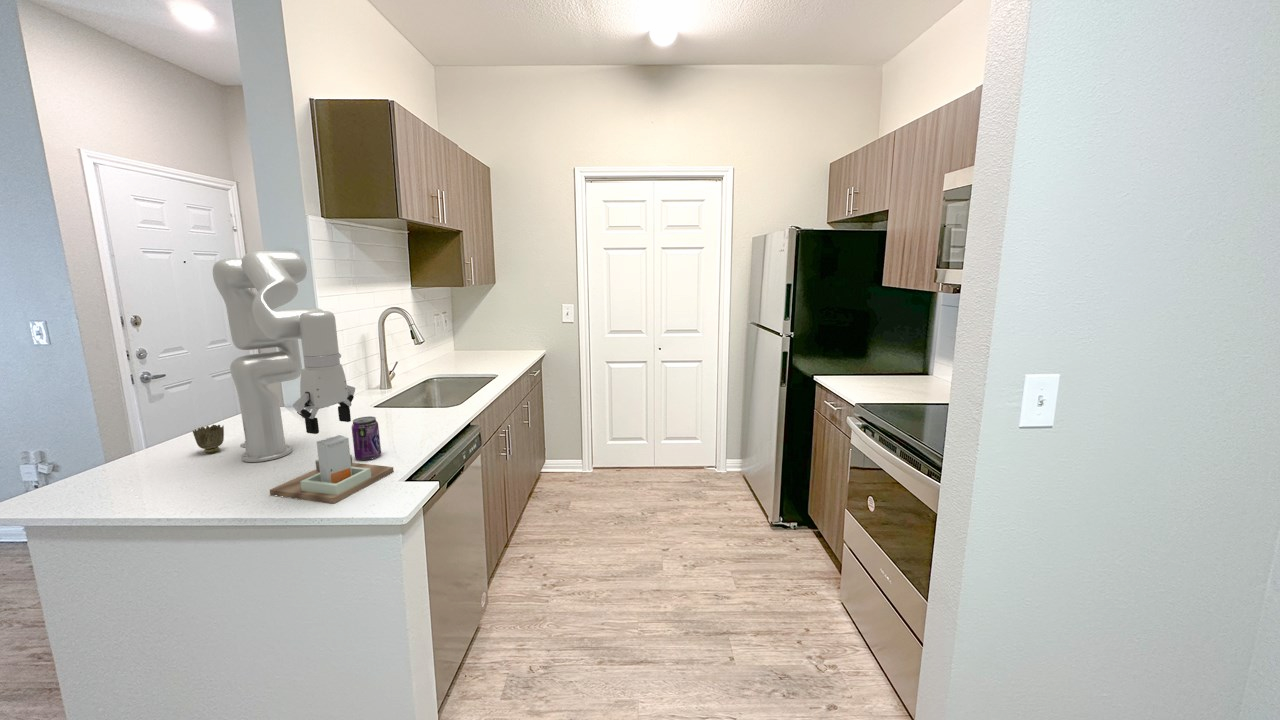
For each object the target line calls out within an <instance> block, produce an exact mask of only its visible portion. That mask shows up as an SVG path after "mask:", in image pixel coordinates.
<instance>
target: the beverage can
mask: <svg viewBox="0 0 1280 720" xmlns="http://www.w3.org/2000/svg"><path fill="white" fill-rule="evenodd" d="M379 429H380V428H379V423H378V420H377V418H376V416H362V417H357V418H355V419H353V420H352V425H351V434H352V442H353V443H352V444H353V452H354V453H353V454H354V458H355V459H357V460H360V461H369V460H373V459H376V458H377V457H379V456H380V455H381V454H382V448H381V439H380V430H379ZM375 457H376V458H375ZM372 458H373V459H372ZM368 459H369V460H368Z"/></svg>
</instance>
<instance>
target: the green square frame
mask: <svg viewBox="0 0 1280 720" xmlns="http://www.w3.org/2000/svg"><path fill="white" fill-rule="evenodd" d="M351 468H352V476H350V477H348V478H346V479H344V480H342V481H340V482H338V483H336V484H335V483H327V482H321V477H320V473H318V474H315V475H313V476H311V477H309V478H307V479H304V480H302V481H300V483H301V490H302V491H308V492H316V493H324V494H332V495H339V494H340V493H342V492H344V491H346V490H348V489H350V488H352V487H354V486H356V485H358V484H360V483H362V482H364V481H365V480H367V479H369V478H371V470H370V469H369V468H360V467H351Z"/></svg>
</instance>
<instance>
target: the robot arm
mask: <svg viewBox="0 0 1280 720" xmlns="http://www.w3.org/2000/svg"><path fill="white" fill-rule="evenodd" d="M307 273H308V267H307V263H306V262H305V260H304V259H303V257H302V256H301V255H300V254H298V253H296V252H295V251H289V250H288V251H287V250H254V251H250V252H247V253H245V255H244V256H243V257H234V258H233V257H232V258H223V259H220V260H218V261H216V262H215V263H214V264H213V266H212V278H213V282H214V284H215V287H216V288H217V290H218V292H219V295H220V296H221V297H222V300H223V302H224V304H225V307H226V308H225V309H226V314H227V317H228V325H229V331H230V335H231V341H232V343H233V345H234V347H235V348H236V349H239V350H241V351H253V350H264V349H272V348H277V349H278V351H271V352H260V353H252V354H246V355H242V356H238V357H236V358H235V359H233V360H232V362H231V363H230V365H229V368H230V369H229V371H230V374H231V377H232V380H233V383H234V385H235V388H236V393H237V396H238V401H239V402H238V403H239V407H240V414H241V419H242V420H241V421H242V427H243V432H244V433H243V434H244V438H245V441H244V443H243V442H242V443H241V444H240V445H239V446H240V448H241V449H244V450H245V452H244V453H243V454H242V455H241V460H242V461H243V462H246V463H261V462H267V461H271V460H272V461H273V460H276V459H280V458H283V457H285V456H287V455H290V454H291V453H292V452H293V447H292V445H288V444H286V441H285V440H286V439H285V438H286V437H285V433H284V427H283V426H284V425H283V419H282V410H281V405H280V399H279V397H278V394H276V392H275V391H273V390H271V389H270V388H269V387H268V385H271V384H278V383H282V382H289V381H294V380H296V379H299V377H300V385H299V386H300V387H299V389H300V391H299V392H300V397H299V398H298V399H297V400H296V401H295V402H293V404H292V407H293V409H294V410H295V411H296V413H297V414H298V415H299V416H300V417H301V418H302V419H304V423H305V430H306V434H312V435H313V434H314V435H317V434H319V433H320V430H319V429H320V427H319V419H318V417H316V416H317V413H318V412H319V410H322V409H324V408H328V407H330V406H334V405H337V404H338V405H339V406H337V412H338V421H339V422H345V423H350V422H352V417H351V408H350V407H352V401H353V400H354V398H355V392H356V387H355V386H351V385H348V384H347V378H346V375H345V371H344V367H343V365H342V363H341V361H340V359H341V358H342V354H341V353H340V351H339V341H338V340H339V339H338V331H337V324H336V323H337V321H336V316H335V314H334V313H333V312H331V311H328V310H323V309H321V308H316V307H311V308H308V307H307V308H292V309H291V308H290V309H278V308H280V307H281V306H284V305H286V304H288V303H291V301H292V300H294V299H295V298H296V296H297V295H298V292H299V291H298V290H299V288H298V283H301V282H302V281H304V280H305V278H306V277H307ZM252 289H255V290H256V291H257V294H256V293H255V292H254V291H252ZM274 309H275V310H274ZM276 309H277V310H276ZM299 340H301V341H300V342H301V350H302V356H301V351H300V345H299ZM302 357H303V365H304V368H302V366H303V365H302V359H301V358H302Z"/></svg>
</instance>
